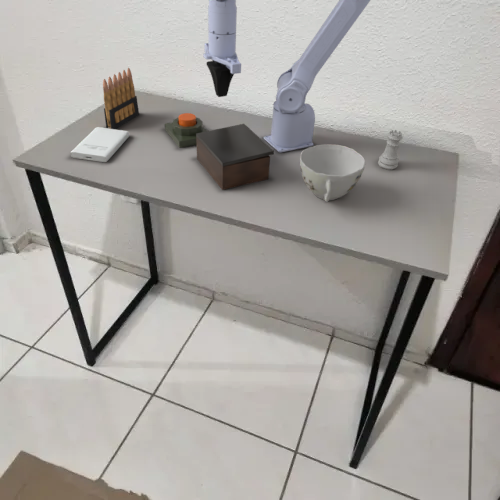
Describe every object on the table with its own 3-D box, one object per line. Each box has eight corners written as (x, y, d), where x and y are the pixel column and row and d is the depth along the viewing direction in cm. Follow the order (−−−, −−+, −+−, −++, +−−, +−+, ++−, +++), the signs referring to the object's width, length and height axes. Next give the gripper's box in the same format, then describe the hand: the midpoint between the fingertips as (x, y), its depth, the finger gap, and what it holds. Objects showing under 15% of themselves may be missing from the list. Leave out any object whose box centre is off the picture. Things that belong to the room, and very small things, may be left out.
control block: (165, 130, 114) (163, 116, 112) (195, 124, 117) (195, 111, 115) (179, 148, 107) (178, 134, 105) (211, 142, 110) (211, 128, 108)
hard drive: (129, 137, 110) (106, 162, 100) (96, 133, 111) (71, 157, 101) (128, 131, 109) (105, 156, 99) (95, 126, 110) (69, 150, 100)
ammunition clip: (133, 113, 120) (127, 65, 112) (139, 115, 120) (134, 67, 112) (106, 129, 113) (98, 79, 105) (112, 131, 112) (104, 81, 104)
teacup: (299, 173, 101) (304, 139, 96) (358, 181, 99) (366, 147, 94) (290, 212, 90) (294, 175, 84) (356, 222, 88) (364, 185, 83)
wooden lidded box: (239, 150, 108) (240, 129, 104) (268, 179, 98) (270, 156, 95) (196, 159, 104) (196, 137, 100) (222, 190, 94) (222, 166, 91)
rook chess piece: (399, 163, 106) (408, 130, 101) (395, 172, 103) (404, 139, 98) (379, 158, 108) (387, 126, 102) (375, 167, 104) (383, 134, 99)
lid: (243, 126, 104) (244, 123, 104) (273, 154, 95) (274, 150, 95) (196, 136, 100) (196, 133, 100) (222, 166, 91) (222, 163, 90)
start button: (176, 121, 110) (176, 114, 109) (192, 119, 112) (192, 112, 111) (182, 128, 108) (182, 121, 107) (198, 125, 109) (198, 118, 108)
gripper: (191, 23, 100) (192, 86, 109) (219, 43, 90) (218, 110, 99) (221, 20, 102) (220, 82, 111) (251, 39, 93) (248, 105, 101)
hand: (221, 95), depth 105 cm, fingers closed
